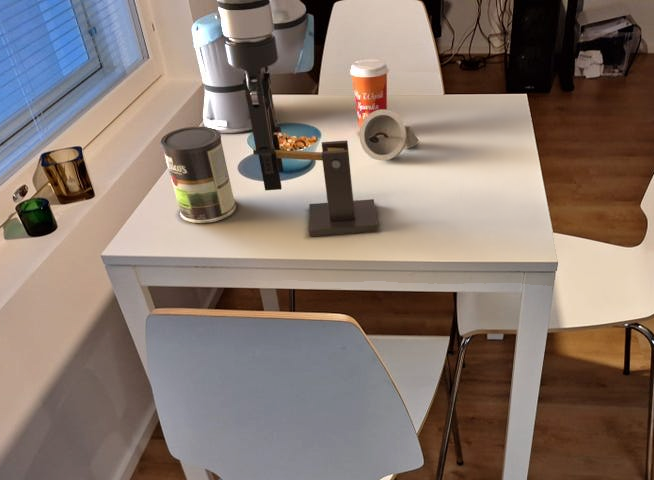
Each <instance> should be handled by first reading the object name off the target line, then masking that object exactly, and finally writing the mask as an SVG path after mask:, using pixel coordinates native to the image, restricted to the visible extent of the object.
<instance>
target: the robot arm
mask: <svg viewBox="0 0 654 480" xmlns="http://www.w3.org/2000/svg"><path fill="white" fill-rule="evenodd" d="M216 5H217V7H218V11H217V12H213V13H211V14H207V15H204V16H202V17H200V18H198V19H197V20H196V21H194V23H193V24H192V26H191V34H192V39H193V40H192V41H193V48H194V50H195V54H196V59H197V63H198V67H199V71H200V75H201V79H202V83H203V84H202V85H203V88H204V100H203V111H202V120H203V124H204V127H210V128H214V129H216V130H218V131H219V132H220V134H239V133H245V132H250V131H252V135H253V141H254V147H255V149H254V150H253V151H252V152H253V155H254V156H255V155H256V156H258V159H259V164H260V165H259V166H260V171H261V175H262V176H261V177H262V180H263V187H264V191H265V192H266V191H277V190H279V191H280V190H282V187H283V186H282V182H281V176H280V175H281V174H280V173H284V165H283V158H277V157H276V151H275V150H281V147H280V140H279V135H278V134H281V133H282V127H281V126H277V125H278V119H277V117H276V111H275V105H274V99H273V89H272V76H271V75H285V74H293V75H295V74H297V73H306V72H311V70H312V69H313V67H314V65H315V64H314V63H315V19H314V15H313V14H310V13H307V8H306V5H305V4H304V3H303V2H302V1H301V0H216ZM273 143H274V144H275V150H274V147H273Z"/></svg>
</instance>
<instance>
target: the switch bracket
mask: <svg viewBox="0 0 654 480" xmlns="http://www.w3.org/2000/svg"><path fill="white" fill-rule="evenodd" d="M328 148H344V150H338V151H328ZM321 150H322V151H321V152H322V160H321V161H322V168H323V176H324V183H325V191H326V199H327V202H317V203H309V204H308V237H309V238H311V237H323V236H324V237H325V236H337V235H338V236H339V235H350V234H351V235H352V234H362V233H374V232H378V221H377V214H376V213H377V212H376V205H375V199H374V198H371V199H360V200H359V199H357V200H354V194H353V182H352V174H351V173H352V172H351V161H350V152H349V142H348V140H347V139H346V140H334V141H322V142H321Z"/></svg>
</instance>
